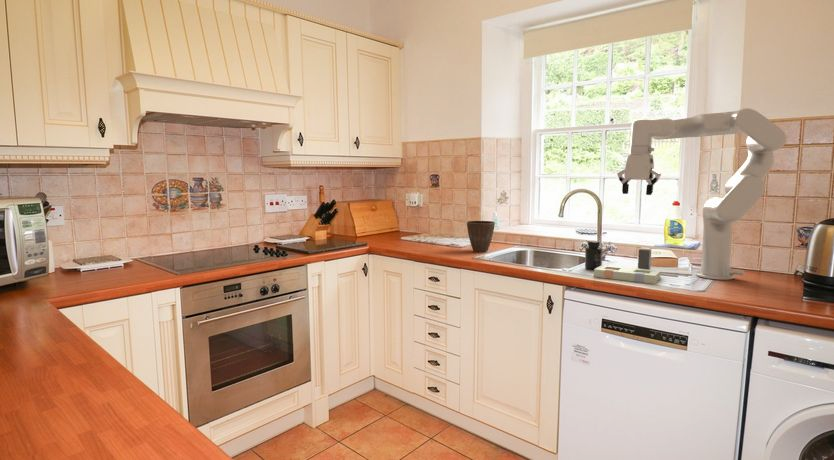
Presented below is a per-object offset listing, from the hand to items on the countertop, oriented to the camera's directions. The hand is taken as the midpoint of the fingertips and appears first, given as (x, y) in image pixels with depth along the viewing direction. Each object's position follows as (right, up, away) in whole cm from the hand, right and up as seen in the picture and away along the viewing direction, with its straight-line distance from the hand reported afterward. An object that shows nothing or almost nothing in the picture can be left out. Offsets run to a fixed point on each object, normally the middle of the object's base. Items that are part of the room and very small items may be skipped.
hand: (636, 194), depth 190 cm
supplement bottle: (-12, -31, +15) cm, 37 cm away
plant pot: (-54, -26, +64) cm, 88 cm away
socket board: (-5, -33, -3) cm, 34 cm away
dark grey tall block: (+5, -32, +4) cm, 33 cm away
